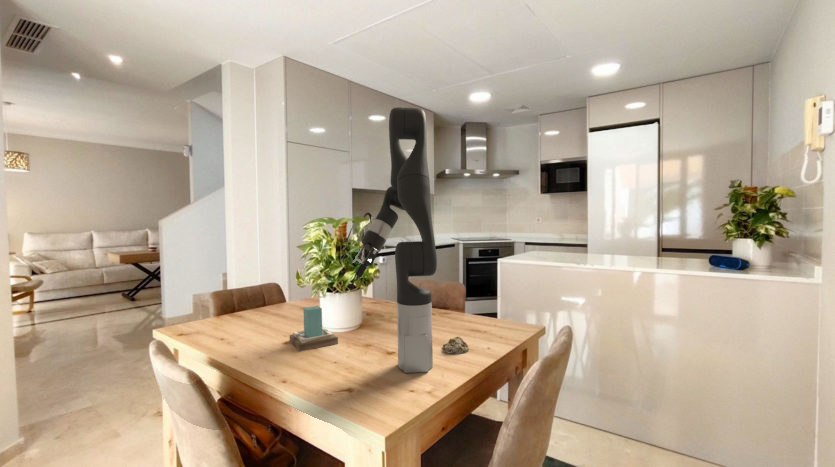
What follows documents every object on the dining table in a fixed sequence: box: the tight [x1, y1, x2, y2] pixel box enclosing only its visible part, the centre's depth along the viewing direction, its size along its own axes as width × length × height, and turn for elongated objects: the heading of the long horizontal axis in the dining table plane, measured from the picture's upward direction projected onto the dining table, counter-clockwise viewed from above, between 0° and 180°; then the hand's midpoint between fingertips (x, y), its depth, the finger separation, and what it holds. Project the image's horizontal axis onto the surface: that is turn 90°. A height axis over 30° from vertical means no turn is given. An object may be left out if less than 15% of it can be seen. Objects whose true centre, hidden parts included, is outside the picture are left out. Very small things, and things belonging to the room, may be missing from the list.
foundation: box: [289, 326, 339, 352], centre depth 122 cm, size 12×12×3 cm
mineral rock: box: [442, 336, 470, 355], centre depth 114 cm, size 11×4×8 cm
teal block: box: [302, 305, 323, 338], centre depth 122 cm, size 4×4×9 cm
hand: (353, 275), depth 127 cm, fingers open, 8 cm apart
